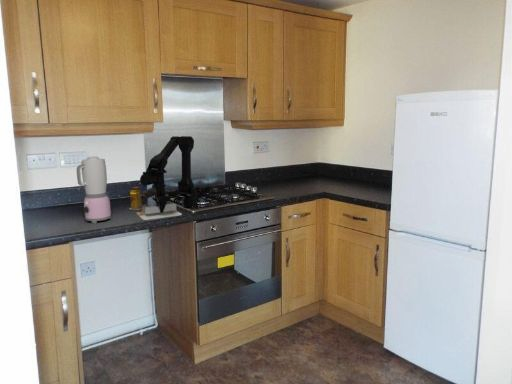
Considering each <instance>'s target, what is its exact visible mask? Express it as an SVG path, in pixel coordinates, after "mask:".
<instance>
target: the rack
mask: <svg viewBox="0 0 512 384" xmlns="http://www.w3.org/2000/svg"><path fill="white" fill-rule="evenodd" d="M167 204H170V201H167ZM167 204H166V205H167ZM144 207H150V206H148V205H147V204H142V209H141V211H137V212H136V215H137V216H138V217H140V216H142V215H150V214H145V213H144ZM174 211H178V210H177V209H176V210H174ZM167 212H173V211H167ZM159 213H160V212H159ZM163 213H165V212H163ZM151 214H157V213H151Z"/></svg>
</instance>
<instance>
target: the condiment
mask: <svg viewBox="0 0 512 384" xmlns="http://www.w3.org/2000/svg"><path fill="white" fill-rule="evenodd" d="M129 189H130V193H129V197H130V199H129V200H130V207H129V208H128V209H129V210H132V211H134V210H135V211H139V210H142V205H143V203H142V202H143V201H142V192H141V187H140V186H133V187H132V186H131V187H130V188H129Z"/></svg>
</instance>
